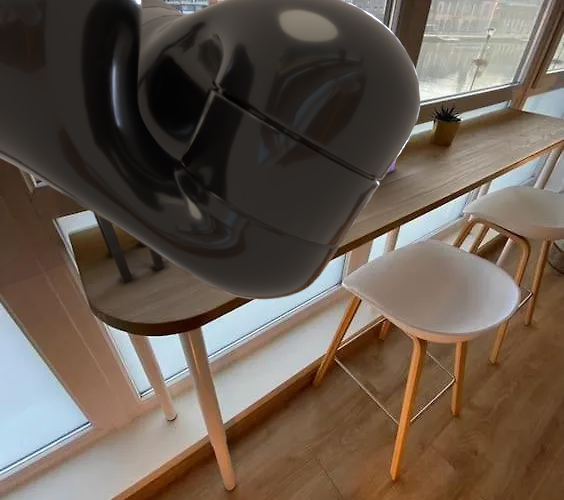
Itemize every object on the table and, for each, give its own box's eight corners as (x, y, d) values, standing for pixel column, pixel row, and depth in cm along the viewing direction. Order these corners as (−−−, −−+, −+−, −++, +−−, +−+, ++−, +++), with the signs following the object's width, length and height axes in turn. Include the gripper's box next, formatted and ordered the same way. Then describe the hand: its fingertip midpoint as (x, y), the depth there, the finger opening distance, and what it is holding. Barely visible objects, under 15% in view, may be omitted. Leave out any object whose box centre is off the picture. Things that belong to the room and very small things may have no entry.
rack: (164, 267, 67) (117, 99, 47) (124, 283, 63) (55, 107, 44) (146, 240, 74) (99, 87, 55) (109, 253, 71) (45, 92, 51)
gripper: (230, -6, 23) (145, -28, 33) (-22, -18, 16) (-33, -41, 26) (232, 105, 28) (158, 57, 38) (41, 132, 21) (11, 65, 31)
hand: (80, 17), depth 32 cm, fingers closed on brush, 3 cm apart
